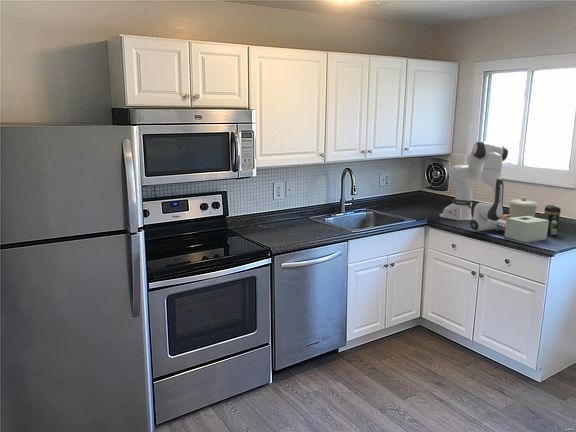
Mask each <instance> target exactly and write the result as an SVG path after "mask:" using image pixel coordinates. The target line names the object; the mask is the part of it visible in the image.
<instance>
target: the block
mask: <svg viewBox="0 0 576 432" xmlns="http://www.w3.org/2000/svg"><path fill="white" fill-rule="evenodd" d="M507 218H511V215H509V214H504V213H503V215H502V217H501V218H500V219H501V220H505V221H506V220H507ZM498 230H500V231H504V232H505V228H501V227H499V229H498Z"/></svg>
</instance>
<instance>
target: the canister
mask: <svg viewBox="0 0 576 432" xmlns="http://www.w3.org/2000/svg"><path fill="white" fill-rule="evenodd" d="M508 203H509V207H508V208H509V212H508V213H509V215H511V218H512V217H522V216H531V217H535V215H536V211H537V208H538V206H539V204H538V203H537V202H536V201H533V200H528V197H527V196H524V195H522V196H521V198H520V199H511V200H509V201H508Z"/></svg>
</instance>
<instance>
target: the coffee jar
mask: <svg viewBox="0 0 576 432" xmlns="http://www.w3.org/2000/svg"><path fill="white" fill-rule="evenodd" d="M561 212H562V211H561V207H559V206H556V205H553V204H552V205H551V204H548V205H545V206H544V215H543V219H545V220H549V225H548V231H547V236H557V235H558V230H559V223H560V222H559V220H560V215H561Z"/></svg>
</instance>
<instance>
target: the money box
mask: <svg viewBox="0 0 576 432" xmlns="http://www.w3.org/2000/svg"><path fill="white" fill-rule="evenodd" d="M548 225H549V220H545V219H544V218H540V217H535V216H534V217H531V216H522V217H512V218H507V220H506V228H505V230H504V235H503V236H504V238H507V239H511V240H515V241H518V242H521V243H532V242H537V241H538V242H539V241H545V240H547V237H548V235H547V231H548Z"/></svg>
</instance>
